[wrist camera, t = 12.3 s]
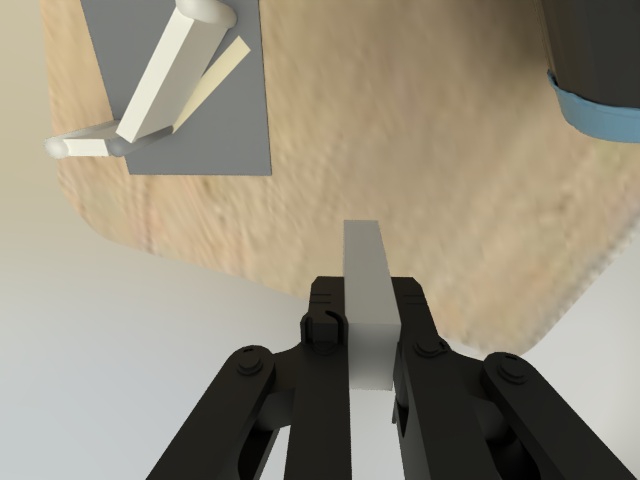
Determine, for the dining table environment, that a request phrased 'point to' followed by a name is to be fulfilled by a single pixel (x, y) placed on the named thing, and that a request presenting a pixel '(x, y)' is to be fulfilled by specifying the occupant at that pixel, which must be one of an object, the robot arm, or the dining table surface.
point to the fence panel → (176, 66)
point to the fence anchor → (99, 141)
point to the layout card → (205, 101)
